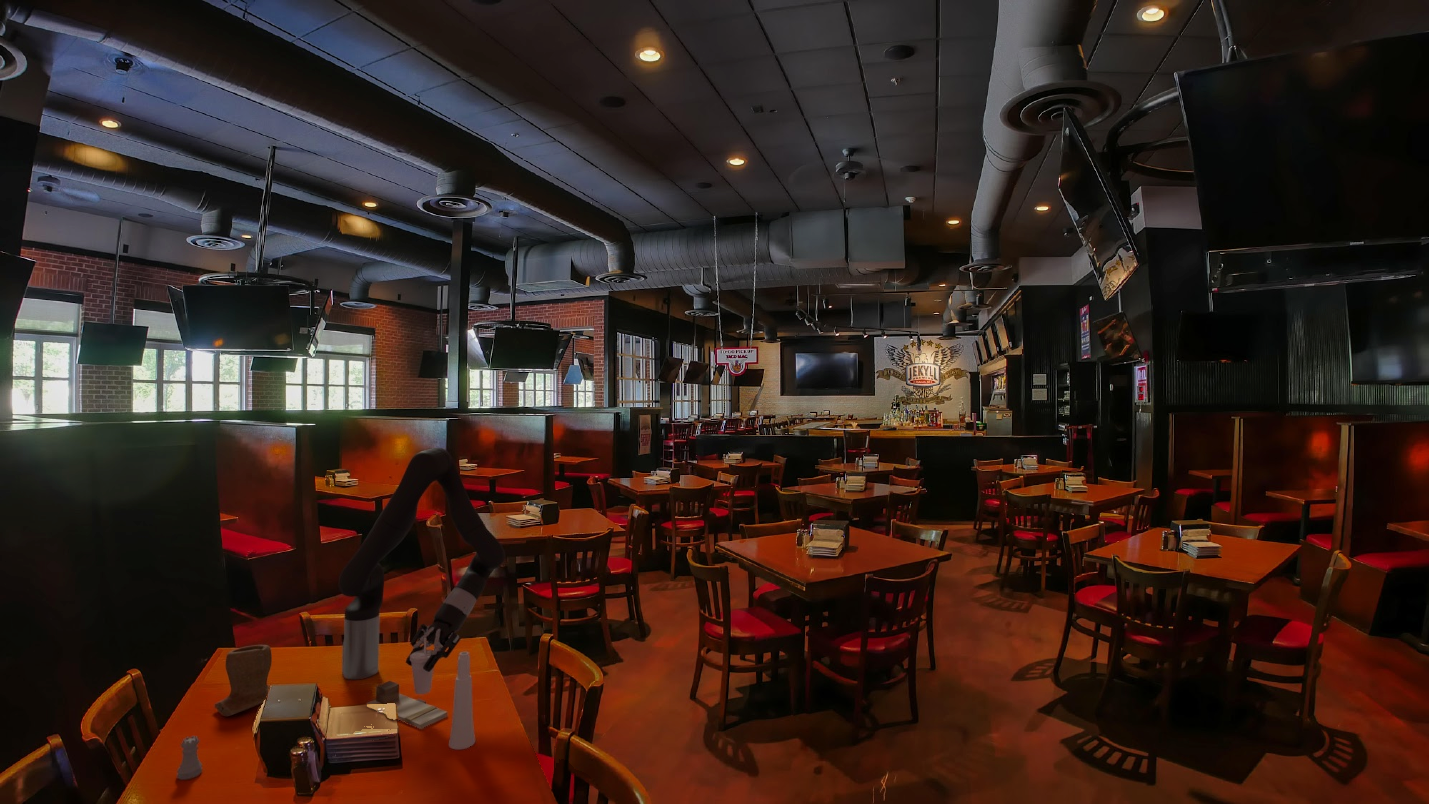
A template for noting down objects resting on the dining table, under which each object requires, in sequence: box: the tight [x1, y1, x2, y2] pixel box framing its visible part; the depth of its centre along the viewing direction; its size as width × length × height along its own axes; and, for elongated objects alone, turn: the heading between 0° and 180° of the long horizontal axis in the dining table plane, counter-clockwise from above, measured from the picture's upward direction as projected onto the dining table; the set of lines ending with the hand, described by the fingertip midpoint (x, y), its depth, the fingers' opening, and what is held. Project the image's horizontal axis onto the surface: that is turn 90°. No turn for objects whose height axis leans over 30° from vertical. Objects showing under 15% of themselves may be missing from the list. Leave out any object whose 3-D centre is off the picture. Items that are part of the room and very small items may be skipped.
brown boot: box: [214, 644, 273, 717], centre depth 178 cm, size 15×12×15 cm
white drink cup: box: [409, 637, 435, 695], centre depth 173 cm, size 6×6×14 cm
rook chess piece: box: [176, 735, 203, 781], centre depth 146 cm, size 4×4×8 cm
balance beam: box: [366, 680, 448, 730], centre depth 176 cm, size 22×10×5 cm, turn 61°
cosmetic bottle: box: [448, 651, 476, 751], centre depth 161 cm, size 6×6×22 cm
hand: (417, 667), depth 172 cm, fingers closed on white drink cup, 6 cm apart
